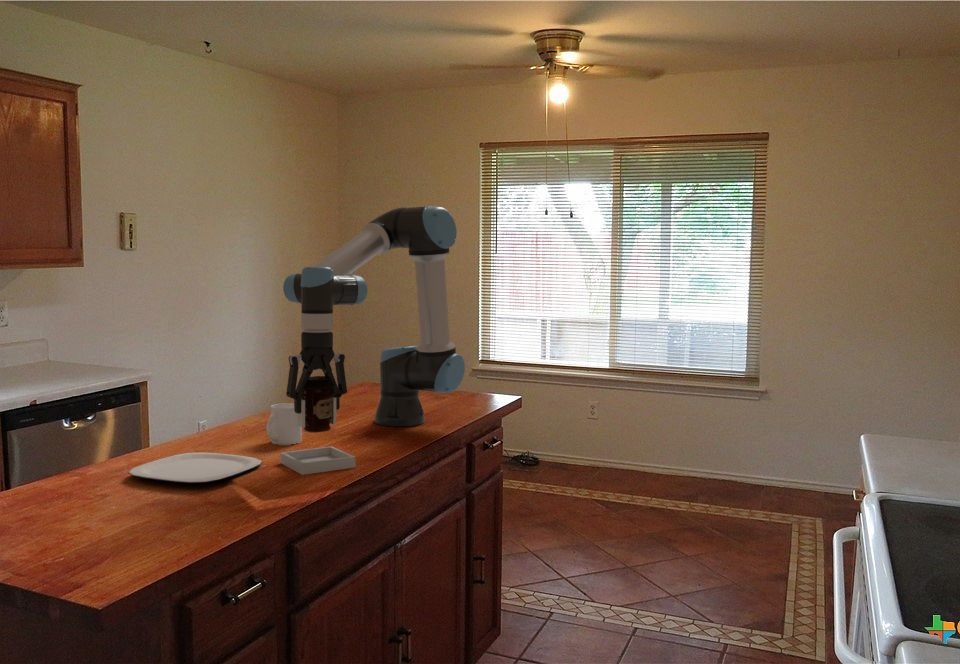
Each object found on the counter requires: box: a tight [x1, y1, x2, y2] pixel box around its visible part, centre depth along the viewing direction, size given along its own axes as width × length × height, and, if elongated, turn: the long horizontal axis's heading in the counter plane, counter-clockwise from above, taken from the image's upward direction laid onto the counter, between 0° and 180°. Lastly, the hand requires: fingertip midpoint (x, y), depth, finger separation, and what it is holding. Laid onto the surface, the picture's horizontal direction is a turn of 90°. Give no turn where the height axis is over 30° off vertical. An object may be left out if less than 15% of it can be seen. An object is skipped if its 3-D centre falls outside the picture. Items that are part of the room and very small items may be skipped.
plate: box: [128, 451, 263, 484], centre depth 194 cm, size 25×25×2 cm
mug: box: [266, 402, 303, 446], centre depth 223 cm, size 12×8×10 cm
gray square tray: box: [280, 445, 356, 476], centre depth 201 cm, size 14×14×3 cm
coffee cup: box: [302, 375, 335, 434], centre depth 199 cm, size 9×8×13 cm
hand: (317, 424), depth 200 cm, fingers closed on coffee cup, 7 cm apart
